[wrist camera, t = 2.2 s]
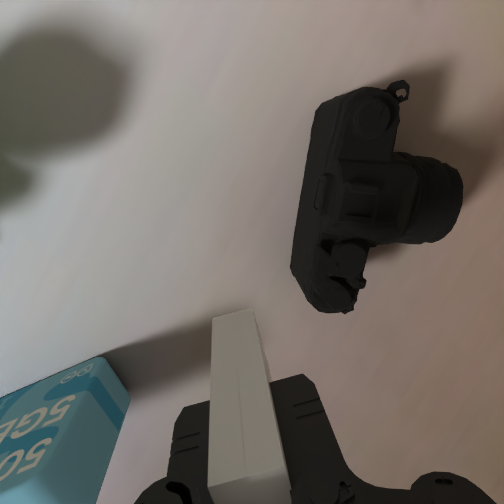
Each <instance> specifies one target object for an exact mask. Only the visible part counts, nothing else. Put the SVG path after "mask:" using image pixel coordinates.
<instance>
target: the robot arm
mask: <svg viewBox="0 0 504 504" xmlns="http://www.w3.org/2000/svg"><path fill="white" fill-rule="evenodd" d="M172 441H173V443H172V444H171V451H170V455H171V457H170V458H169V464H168V471H167V477H165V478H163V479H160V480H158V481H156V482H154V483H153V484H152V485H151V486H149V487H148V488H147V489H146V490H144V491H143V492H142V493H141V495H140V496H139V498H138V499H137V500H136V502H135V503H134V504H496V503H495V502H494V501H493V500H492V499H491V498H490V497H489V496H488V495H487V494H486V493H485V492H484V491H483V490H481V489H480V488H479V487H477V486H476V485H475V484H473V483H472V482H470V481H469V480H468V479H466V478H464V477H461V476H458V475H455V474H453V473H450V472H431V473H428V474H425V475H422V476H420V477H419V478H418V479H417V480H416V481H415V482H414V483H413V484H412V486H411V489H410V490H404V489H389V488H382V487H376V486H373V485H371V484H368V483H366V482H364V481H363V480H361V479H360V478H358V477H357V476H356V475H355V474H354V473H353V472H352V471H351V470H350V469H349V468H348V466H347V464H346V462H345V460H344V458H343V455H342V453H341V450H340V448H339V445H338V443H337V440H336V438H335V435H334V433H333V430H332V427H331V425H330V422H329V420H328V417H327V415H326V413H325V410H324V407H323V405H322V402H321V400H320V397H319V394H318V392H317V389H316V387H315V384H314V383H313V382H312V381H311V380H309V379H308V378H307V377H306V376H305V375H304V374H299V375H296V376H292V377H288V378H285V379H281V380H277V381H274V382H272V379H271V374H270V370H269V366H268V362H267V359H266V355H265V351H264V348H263V344H262V341H261V337H260V334H259V330H258V326H257V323H256V319H255V316H254V312H253V309H252V307H251V308H247V309H244V310H240V311H236V312H233V313H229V314H225V315H222V316H218V317H214V318H212V346H211V382H210V400H209V401H205V402H201V403H198V404H194V405H190V406H187V407H184V408H183V410H182V411H181V413H180V415H179V416H178V418H177V420H176V422H175V424H174V431H173V438H172Z"/></svg>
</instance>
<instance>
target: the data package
mask: <svg viewBox="0 0 504 504" xmlns="http://www.w3.org/2000/svg"><path fill="white" fill-rule="evenodd" d="M129 403H130V395H129V393H128V392H127V390H126V389H125V387H124V386H123V384H122V383H121V381H120V380H119V378H118V377H117V375H116V374H115V372H114V371H113V370H112V368H111V367H110V365H109V364H108V362H107V361H106V359H105V358H103V357H95V358H92V359H90V360H88V361H85V362H83V363H81V364H78V365H76V366H74V367H71V368H69V369H67V370H64V371H62V372H60V373H58V374H55V375H53V376H51V377H48V378H46V379H44V380H41V381H39V382H37V383H34V384H32V385H30V386H27V387H25V388H23V389H20V390H18V391H16V392H14V393H11V394H9V395H7V396H4V397H2V398H0V504H96V501H97V498H98V495H99V492H100V489H101V486H102V483H103V480H104V477H105V474H106V471H107V468H108V465H109V462H110V459H111V457H112V454H113V451H114V448H115V445H116V442H117V439H118V436H119V433H120V430H121V427H122V424H123V421H124V418H125V415H126V412H127V409H128V406H129Z"/></svg>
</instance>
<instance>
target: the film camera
mask: <svg viewBox="0 0 504 504" xmlns="http://www.w3.org/2000/svg"><path fill="white" fill-rule="evenodd" d="M409 88H410V86H409V85H408V84H407V83H406V82H405V81H404V80H400V81H396V82H393V83H391V84H390V85H389V87H388V88H387V89H386V90H383V89H379V88H373V87H362V88H359V89H357V90H354V91H352V92H350V93H347V94H344V95H341V96H336V97H334V98H333V99H331V100H329V101H326V102H323V103H322V104H321V105H320V106H319V107H318V109H317V110H316V111H315V116H314V121H313V125H312V129H311V139H310V144H309V149H308V154H307V160H306V165H305V172H304V179H303V185H302V190H301V195H300V202H299V208H298V214H297V220H296V226H295V232H294V238H293V247H292V256H291V264H290V269H291V272H292V274H293V276H294V277H295V278H296V280H297V282H298V284H299V285H300V287H301V289H302V291H303V293H304V294H305V297H306V299H307V301H308V302H309V303H310V304H311V305H312V306H313V307H314V308H316V309H317V310H318V311H319V312H324V313H339V312H342V313H344V314H346V313H348V312H350V311H353V310H354V304H355V303H356V301H357V295H358V292H359V289H363V288H364V287H365V285H366V279H364V278H363V271H364V267H365V263H366V259H367V255H368V251H369V248H370V247H376V246H377V245H383V244H390V243H394V242H398V243H406V244H422V243H424V242H428V243H433V242H436V241H439V240H440V239H442V238H444V237H445V236H446V235H447V234H448V233H449V232H450V231H451V230H452V228H453V226H454V225H455V223H456V221H457V218H458V215H459V213H460V209H461V206H462V199H463V193H462V190H463V183H462V179H461V176H460V174H459V172H458V170H457V169H454V168H452V167H451V166H449V165H448V164H446V163H441V162H440V161H439V160H437V159H434V158H430V157H421V156H412V155H410V154H408V153H404V152H393V148H394V144H395V139H396V133H397V127H398V125H399V122H400V118H399V110H400V107H399V103H400V102H402V101H405V100H408V96H409ZM399 89H405V90H406V93H407V94H406V96H405V97H404V98H403V96H402V95H401V96H399V97H398V96H397V95H396V91H397V90H399Z"/></svg>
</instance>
